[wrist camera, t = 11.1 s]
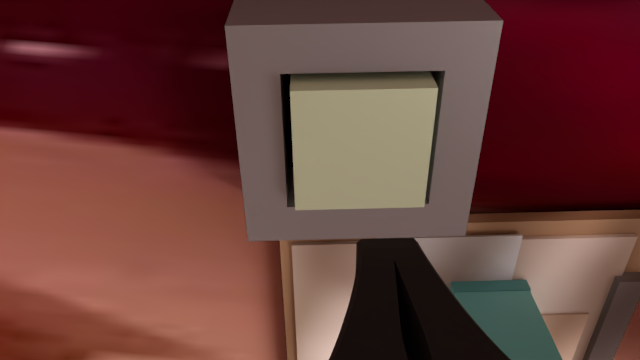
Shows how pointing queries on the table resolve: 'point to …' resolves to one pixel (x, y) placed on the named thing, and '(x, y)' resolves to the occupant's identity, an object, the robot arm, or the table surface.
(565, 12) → the table surface
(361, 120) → the button
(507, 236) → the clipboard
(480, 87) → the button housing
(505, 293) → the teal rimmed box
